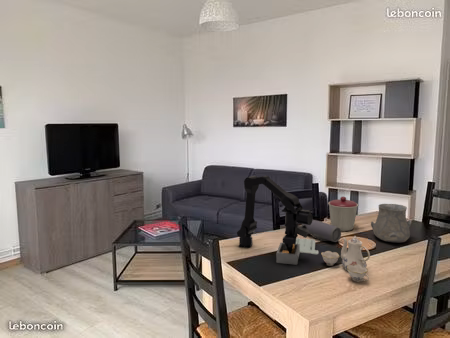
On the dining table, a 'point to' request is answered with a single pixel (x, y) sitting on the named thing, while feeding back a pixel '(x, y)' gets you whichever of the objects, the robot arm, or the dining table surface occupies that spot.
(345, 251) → the chinaware
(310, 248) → the metal bracket
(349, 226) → the canister
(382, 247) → the dining table surface
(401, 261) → the dining table surface
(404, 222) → the vessel
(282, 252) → the wood grain brick
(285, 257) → the open box
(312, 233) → the bluetooth speaker
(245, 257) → the dining table surface
